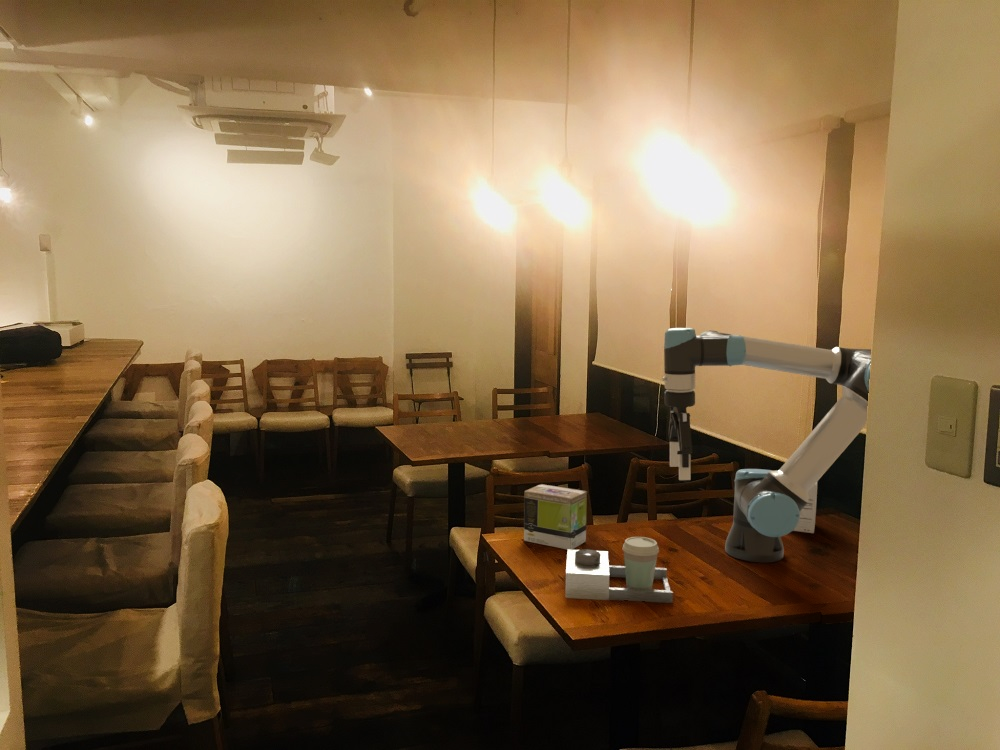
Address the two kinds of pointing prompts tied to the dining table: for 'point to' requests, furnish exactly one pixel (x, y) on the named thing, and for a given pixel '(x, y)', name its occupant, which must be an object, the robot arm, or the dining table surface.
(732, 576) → the dining table surface
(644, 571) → the coffee cup
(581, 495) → the tea box
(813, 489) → the supplement box
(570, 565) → the button box with rail
